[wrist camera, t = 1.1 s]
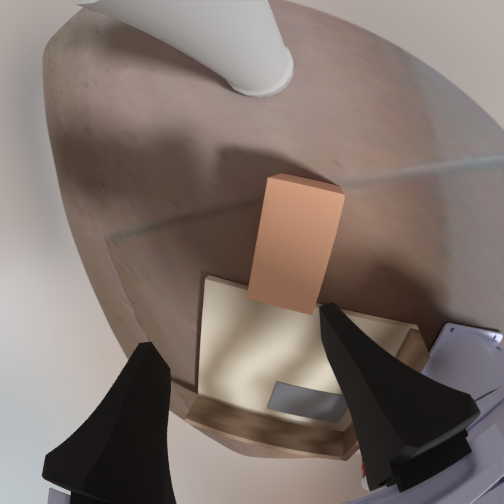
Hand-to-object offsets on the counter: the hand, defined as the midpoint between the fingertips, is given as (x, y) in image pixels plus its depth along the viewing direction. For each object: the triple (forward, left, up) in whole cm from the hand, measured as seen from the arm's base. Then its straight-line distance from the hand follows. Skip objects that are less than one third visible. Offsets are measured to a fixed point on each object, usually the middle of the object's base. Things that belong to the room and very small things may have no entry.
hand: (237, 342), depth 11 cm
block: (-1, -2, -12) cm, 13 cm away
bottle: (+4, -14, -12) cm, 19 cm away
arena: (-4, +13, -12) cm, 18 cm away
